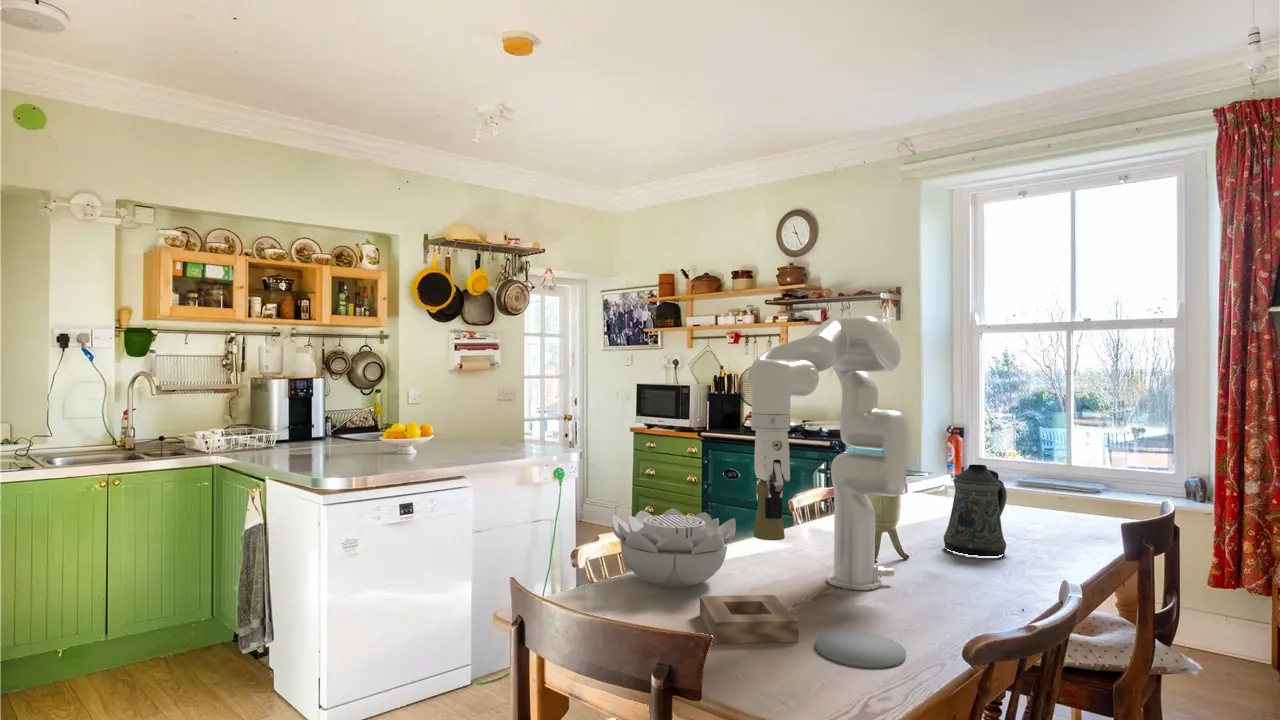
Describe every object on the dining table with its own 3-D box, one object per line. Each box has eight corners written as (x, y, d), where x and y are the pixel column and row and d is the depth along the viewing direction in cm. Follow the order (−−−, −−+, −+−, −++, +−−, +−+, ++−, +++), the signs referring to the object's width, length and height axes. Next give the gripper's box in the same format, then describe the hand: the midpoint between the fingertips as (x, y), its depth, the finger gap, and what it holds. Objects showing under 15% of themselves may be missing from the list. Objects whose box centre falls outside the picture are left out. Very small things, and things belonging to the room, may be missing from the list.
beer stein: (937, 553, 211) (938, 465, 212) (952, 540, 227) (953, 459, 228) (1001, 562, 202) (1002, 471, 202) (1012, 549, 218) (1013, 464, 218)
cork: (784, 541, 142) (784, 484, 142) (752, 539, 143) (753, 482, 143) (785, 534, 148) (785, 479, 148) (754, 532, 149) (755, 478, 149)
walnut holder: (774, 613, 156) (774, 594, 156) (798, 641, 140) (798, 620, 140) (699, 615, 154) (699, 596, 154) (715, 643, 138) (715, 622, 138)
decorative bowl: (760, 596, 168) (761, 530, 168) (635, 606, 159) (636, 536, 160) (710, 562, 197) (711, 506, 197) (602, 569, 188) (603, 510, 189)
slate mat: (882, 634, 145) (882, 630, 145) (922, 667, 129) (922, 662, 129) (803, 635, 143) (803, 631, 143) (833, 669, 127) (833, 664, 127)
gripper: (802, 426, 137) (801, 524, 137) (777, 419, 154) (776, 506, 154) (762, 426, 137) (761, 524, 137) (742, 419, 154) (741, 507, 154)
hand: (769, 514), depth 145 cm, fingers closed on cork, 4 cm apart
